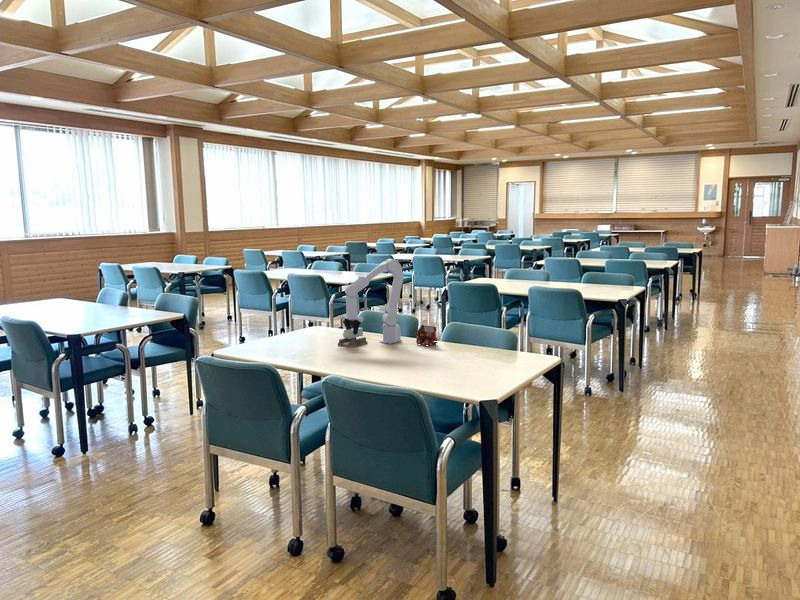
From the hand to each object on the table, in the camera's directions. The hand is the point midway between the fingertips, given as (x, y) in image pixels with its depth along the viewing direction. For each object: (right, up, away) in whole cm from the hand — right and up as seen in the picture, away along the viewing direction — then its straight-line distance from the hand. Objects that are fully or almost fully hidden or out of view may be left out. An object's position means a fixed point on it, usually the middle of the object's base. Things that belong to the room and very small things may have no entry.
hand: (352, 333), depth 309 cm
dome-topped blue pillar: (0, -2, 0) cm, 2 cm away
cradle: (0, -6, +1) cm, 6 cm away
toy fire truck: (+39, -6, -3) cm, 39 cm away
